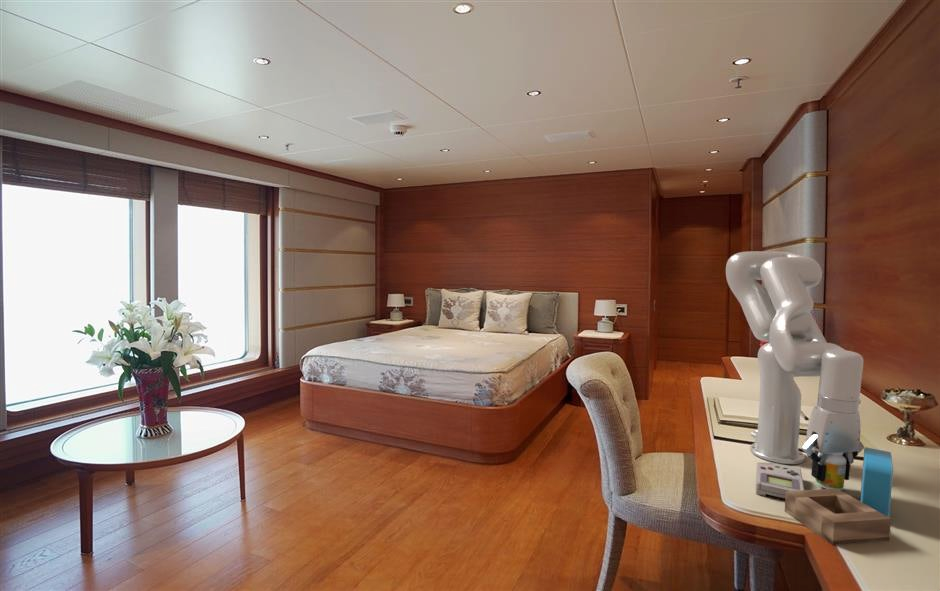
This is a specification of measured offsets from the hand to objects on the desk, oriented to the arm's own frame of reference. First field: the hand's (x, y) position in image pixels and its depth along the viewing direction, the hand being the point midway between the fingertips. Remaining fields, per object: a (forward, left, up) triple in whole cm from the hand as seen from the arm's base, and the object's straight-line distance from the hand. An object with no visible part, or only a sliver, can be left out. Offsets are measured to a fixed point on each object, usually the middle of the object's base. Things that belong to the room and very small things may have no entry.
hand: (829, 477), depth 113 cm
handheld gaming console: (-2, -11, -3) cm, 12 cm away
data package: (+9, +2, -3) cm, 10 cm away
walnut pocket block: (+14, -12, -3) cm, 19 cm away
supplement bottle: (0, 0, -2) cm, 2 cm away
